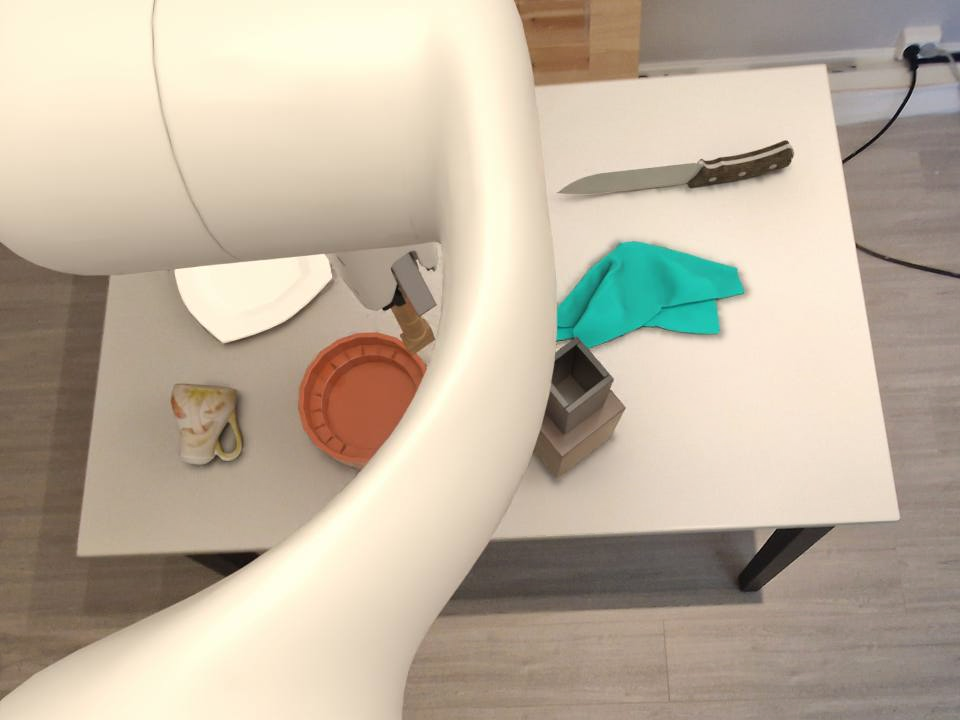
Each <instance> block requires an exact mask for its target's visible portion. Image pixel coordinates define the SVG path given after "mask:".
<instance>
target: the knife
mask: <svg viewBox="0 0 960 720" xmlns="http://www.w3.org/2000/svg"><path fill="white" fill-rule="evenodd" d="M794 158H795V150H794V147H793V146H792V144H790V141H789V140H787V139H785V140H782V141H780V142H776V143H775V144H771V145H768V146H766V147H763V148H760V149H756V150H753V151H749V152H745V153H741V154H736V155H730V156H720V157H717V158H715V159H711V160H704V159H703V158H700V159H699V160H698V161H697V162H691V163H690V162H689V163H681V164H680V163H679V164H673V165H671V164H670V165H664V166H663V165H662V166H654V167H646V168H636V169H628V170H627V169H626V170H619V171H610V172H601V173H595V174H591V175H588V176H584V177H580V178H578V179H577V180H574V181H572V182H570V183H569V184H567V185H566V186H564V187H562V188H561V189H560V190H559V191H557V192H556V194H561V195H581V196H583V195H584V196H585V195H597V194H607V193H616V192H624V191H633V190H643V189H653V188H660V187H661V188H662V187H670V186H679V185H686V184H687V185H688V187H689V188H694V187H700V186H709V185H713V184H720V183H727V182H733V181H737V180H742V179H747V178H750V177H754V176H759V175H762V174H767V173H771V172H776V171H778V170H782V169H785V168H788V167H789V166H790V165H791V163H792V162H793V161H792V160H793V159H794Z"/></svg>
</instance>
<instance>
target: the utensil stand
mask: <svg viewBox="0 0 960 720" xmlns="http://www.w3.org/2000/svg"><path fill="white" fill-rule="evenodd" d="M614 380H615V378H614V377H613V376H612V374H611V373H609V371H608V370H607V369H606V367H604V365H603V364H602V363H601V362H600V360H599V359H598V358H597V357H596V356H595V355H594V354H593V353H592V352H591V350H590V348H587V347H586V346H585V345H584V343H583V342H581V340H580V339H579V338H578V337H575V338H572V339H571V340H570V341H568V342H567V343H566V344H564V345H563V346H562V347H561V348H559V349H558V350H556V351H555V361H554V368H553V374H552V380H551V387H550V393H549V397H548V402H547V406H546V410H545V414H544V418H543V422H542V426H541V429H540V432H539V435H538V438H537V441H536V444H535V447H534V450H533V451H534V452H535V453H536V454H537V456H539V458H540V459H541V461H542V462H543V463H544V464H545V465H546V467H547V468H548V470H550V472H551V473H552V474H553V475H554V477H555V478H556V479H559V478H560V477H561V476H563V475H565V473H567V472H568V471H569V470H571V469H572V468H573V467H574V466H576V465H577V464H579V463H580V462H581V461H582V460H583V459H585V458H586V457H587V456H589V455H590V454H591V453H592V452H594V451H595V450H597V449H598V448H599V447H600V446H602V445H603V444H604V443H605V442H607V441H608V440H609V439H611V438H612V436H613V434H614V433H615V430H616V428H617V426H618V424H619V422H620V420H621V418H622V416H623V414H624V412H625V411H626V409H627V407H626V406H625V404H624V403H623V402H622V400H620V398H618V397H617V395H616V394H615V392H613V391H612V390H611V388H612V385H613V384H614Z"/></svg>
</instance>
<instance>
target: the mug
mask: <svg viewBox="0 0 960 720" xmlns="http://www.w3.org/2000/svg"><path fill="white" fill-rule="evenodd" d="M170 404H171V410H172V413H173V417H174V419H175V423H176V427H177V430H178V433H179V447H178V448H179V449H178V456H179V458H180V459H181V461H183V462H184V463H187V464H190V465H200V466H202V465H207V464H208V463H210V462H211V461H213V459H215V457H216V456H217V457H219V459H221V460H222V461H225V462H231V461H234V460H236V459H237V458H238V457H239V456H240V455H241V452H242V450H243V438H242V434H241V432H240V430H239V426H238V421H237V411H236V409H235V407H236V404H237V389H236V388H232V387H226V386H218V385H217V386H216V385H209V384H199V383H198V384H197V383H196V384H194V383H175V384H173V386H172V389H171V395H170ZM228 423H229V425H230V427H231V429H232V431H233V435H234V437H235V442H236V447H235V449H234V450H233V451H232V452H230V453H228V452H224V451H223V449H222V445H221V443H220V442H219V438H220V435H221V433H222V432H223V430H224V429H225V427H226V425H227V424H228Z"/></svg>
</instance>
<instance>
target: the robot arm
mask: <svg viewBox="0 0 960 720" xmlns="http://www.w3.org/2000/svg"><path fill="white" fill-rule="evenodd" d="M519 12H520V11H519V9H518V7H517V4H516V2H515V0H0V243H1V244H2V245H4V246H5V247H7V249H9V250H10V251H11V252H12V253H14V254H15V255H16V256H18V257H21V258H22V259H24V260H26V261H27V262H30V263H32V264H34V265H36V266H39V267H41V268H45V269H48V270H51V271H54V272H59V273H61V274H62V273H63V274H71V275H77V276H83V277H85V276H88V277H89V276H125V275H134V274H142V273H151V272H162V271H171V270H174V269H182V268H192V267H201V266H211V265H220V264H230V263H239V262H249V261H260V260H270V259H280V258H290V257H300V256H310V255H319V254H325V256H326V257H327V258H328V260H329V263H330V265H331V266H332V267H333V269H335V271H336V272H337V274H338V275H339V276H340V278H341V279H342V280H343V282H344V283H345V284H346V286H347V287H348V289H349V290H350V291H351V293H352V294H353V295H354V296H355V298H356V299H357V300H358V302H359V303H360V304H361V305H362V306H363V307H364V308H365V309H366V310H370V311H374V312H378V311H380V310H382V311H384V312H386V311H389V310H391V308H392V307H393V306H395V305H396V306H402V305H404V304H406V303H407V304H408V305H409V306H410V307H411V309H412V310H413V311H414V312H415V313H416V315H417V316H418V317H422V316H423V315H425V314H426V313H428V312H429V311H430V310H432V309H434V308H435V307H437V306H438V305H437V302H436V300H435V298H434V296H433V294H432V293H431V290H430V289H429V287H428V285H427V283H426V281H425V279H424V277H423V275H422V273H421V272H420V267H419V265H420V266H421V267H422V268H424V269H426V271H427V272H429V271H432V272H436V271H437V268H438V265H439V252H438V247H437V243H439V244H440V247H441V248H440V249H441V265H442V285H441V287H442V288H441V302H440V315H439V321H438V324H437V325H438V326H437V330H436V333H435V340H434V344H433V349H432V353H431V355H430V358H429V360H428V364H427V366H426V368H427V369H426V372H425V374H424V377H423V379H422V381H421V383H420V385H419V387H418V390H417V392H416V394H415V396H414V398H413V400H412V401H411V403H410V405H409V407H408V408H407V410H406V412H405V414H404V415H403V417H402V419H401V421H400V422H399V424H398V425H397V427H396V428H395V429H394V431H393V432H392V434H391V435H390V437H389V438H388V439H387V440H386V441H385V443H384V444H383V445H382V446H381V447H380V448H379V450H378V451H377V452H376V453H375V454H374V456H373V457H372V458H371V459H370V460H369V462H368V463H367V464H366V465H365V466H364V467H363V469H362V470H361V469H360V470H359V472H358V473H357V475H355V477H354V478H353V479H352V480H351V481H350V482H349V483H348V484H347V485H346V486H344V487H343V488H342V489H341V491H339V492H338V493H337V494H336V495H335V496H334V497H333V498H331V499H330V500H329V501H328V502H327V503H326V504H325V505H324V506H323V507H321V508H320V510H318V511H317V512H316V513H315V514H314V515H313V516H312V517H310V519H308V520H307V521H306V522H305V523H304V524H303V525H301V526H299V527H298V528H297V529H296V530H294V531H293V532H292V533H290V534H288V535H287V536H286V537H285V538H283V539H282V540H280V541H279V542H278V543H277V544H274V546H272V547H271V548H270V549H268V550H266V551H265V552H264V553H262V554H261V555H258V557H256V558H255V559H253V560H252V561H251V562H249V563H248V564H246V565H245V566H243V567H242V568H240V569H238V570H236V571H234V572H233V573H231V574H229V575H228V576H226V577H224V578H222V579H221V580H218V581H217V582H215V583H213V584H211V585H209V586H208V587H205V588H204V589H202V590H200V591H198V592H196V593H195V594H193V595H190V596H189V597H186V598H184V599H182V600H180V601H178V602H176V603H174V604H171V605H170V606H167V607H166V608H163V609H161V610H160V611H158V612H157V611H156V612H155V613H153V614H151V615H149V616H147V617H145V618H142V619H140V620H138V621H136V622H134V623H132V624H130V625H128V626H125V627H124V628H122V629H120V630H117V631H116V632H112V633H111V634H109V635H106V636H105V637H102V638H100V639H98V640H95V641H94V642H92V643H89V644H88V645H86V646H84V647H81V648H79V649H77V650H75V651H74V652H71V653H70V654H68V655H67V656H64V657H62V658H60V659H59V660H57V661H56V662H54V663H52V664H50V665H48V666H46V667H45V668H43V669H41V670H40V671H37V672H36V673H34V674H32V675H31V676H30V677H29V678H28V679H26V680H25V681H24V682H22V683H20V685H18V686H17V687H16V688H14V689H13V690H12V691H10V692H9V693H8V694H7V695H5V696H4V697H3V698H2V699H1V700H0V720H403V708H404V698H405V689H406V685H407V681H408V675H409V672H410V668H411V666H412V663H413V661H414V658H415V656H416V653H418V652H417V651H418V650H419V648H420V646H421V645H422V643H423V640H424V639H425V637H426V635H427V633H428V632H429V630H430V628H431V626H432V624H433V623H434V622H435V620H436V619H437V618H438V616H439V615H440V614H441V612H442V610H444V608H445V606H446V605H447V604H448V602H449V601H450V600H451V598H452V597H453V595H454V594H455V593H456V591H457V590H458V588H459V587H460V585H461V584H462V583H463V581H464V580H465V578H466V577H467V575H468V574H469V573H470V571H471V570H472V568H473V567H474V565H475V564H476V562H477V560H479V558H480V556H481V555H482V554H483V552H484V550H485V549H486V547H487V546H488V544H489V543H490V541H491V539H492V538H493V536H494V535H495V533H496V531H497V529H498V527H499V526H500V524H501V522H502V521H503V519H504V517H505V515H506V513H507V512H508V510H509V507H510V505H511V504H512V502H513V499H514V497H515V496H516V494H517V492H518V489H519V486H520V485H521V483H522V481H523V478H524V476H525V473H526V471H527V468H528V466H529V463H530V461H531V458H532V456H533V453H534V451H535V450H534V447H535V444H536V441H537V438H538V435H539V432H540V429H541V426H542V422H543V418H544V414H545V410H546V406H547V402H548V397H549V393H550V387H551V380H552V374H553V368H554V361H555V352H556V350H557V349H556V347H557V341H556V337H557V307H558V283H557V282H558V281H557V273H556V272H557V271H556V261H555V250H554V240H553V238H554V237H553V231H552V226H551V225H552V224H551V218H550V212H549V203H548V193H547V184H546V174H545V165H544V164H545V163H544V154H543V146H542V135H541V126H540V117H539V110H538V109H539V108H538V101H537V94H536V86H535V78H534V72H533V64H532V60H531V55H530V51H529V46H528V42H527V38H526V34H525V29H524V25H523V20H522V18H521V15H520V13H519Z"/></svg>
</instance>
